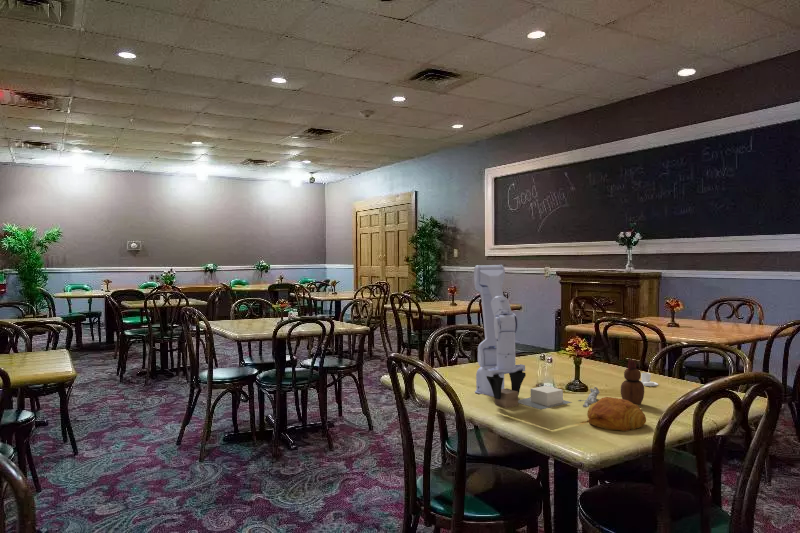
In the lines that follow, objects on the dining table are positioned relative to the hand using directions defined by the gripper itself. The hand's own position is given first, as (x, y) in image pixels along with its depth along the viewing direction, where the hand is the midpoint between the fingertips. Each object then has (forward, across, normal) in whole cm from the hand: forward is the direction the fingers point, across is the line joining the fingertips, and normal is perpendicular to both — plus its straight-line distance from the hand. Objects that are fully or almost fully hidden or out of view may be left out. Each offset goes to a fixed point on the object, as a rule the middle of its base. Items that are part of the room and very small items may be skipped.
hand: (506, 396), depth 176 cm
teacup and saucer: (+4, +59, -6) cm, 60 cm away
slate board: (+3, +12, -4) cm, 13 cm away
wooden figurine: (+3, +34, -21) cm, 40 cm away
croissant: (+4, +12, -30) cm, 32 cm away
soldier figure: (+3, +23, -14) cm, 27 cm away
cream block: (+2, +13, -5) cm, 14 cm away
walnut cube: (+3, 0, 0) cm, 3 cm away
